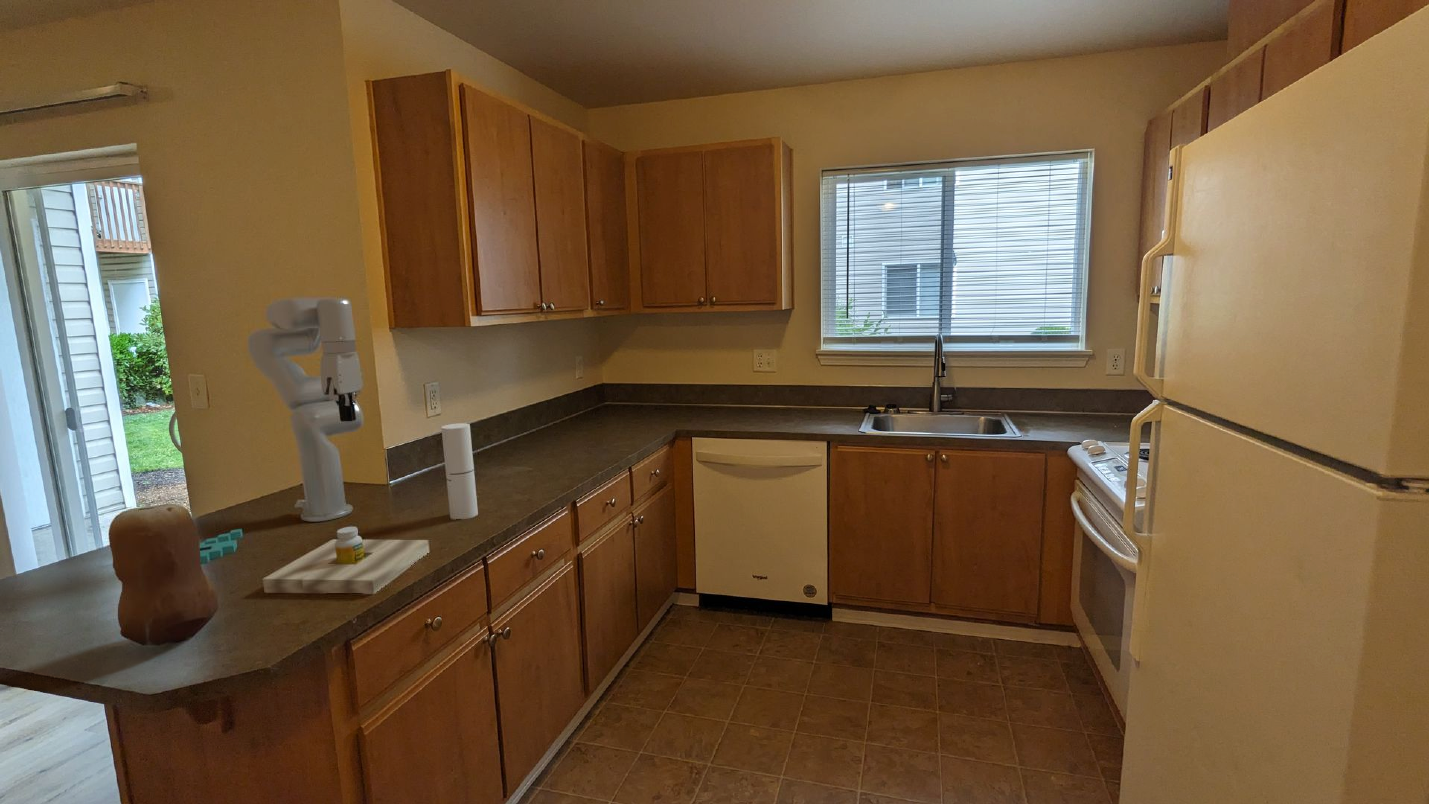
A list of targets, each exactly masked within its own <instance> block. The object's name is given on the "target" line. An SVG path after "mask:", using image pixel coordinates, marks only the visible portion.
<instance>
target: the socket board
mask: <svg viewBox="0 0 1429 804" xmlns="http://www.w3.org/2000/svg"><path fill="white" fill-rule="evenodd" d="M338 539H339V538H337V539H335V538H334V539H330V540H329V541H327V542H325V543H323V544H322V545H320V546H318V547H316V548H314V549H313V550H311V551H309V552H308V553H306V554H304V555H302V556H300V557H299V558H297V559H295V560H293V561H292V562H290V563H288V564H286V565H285V566H283V567H280V568H279V569H277V570H276V571H273V572H272V573H271V574H269V575H267V576H265V577H264V578H262V584H263V590H264V593H267V594H269V593H270V594H273V593H275V594H283V593H284V594H326V593H363V594H362V595H375V594H377V593H378V592H380V590H382V589H383V588H384V587H386V586H387V585H388V584H390V583H391V582H392V581H393V580H395V579H396V578H398V577H399V576H400V575H402V574H403V573H404V572H406V570H408V569H409V568H410V567H412V566H413V565H415V564H416V563H418V562H419V561H420V560H421V559H422V558H424V557H425V556H427V555H428V554H429V553H430V543H429V540H428V539H362V541H363V549H364V557H365V559H363V560H362V561H360V562H359V563H357V564H338V563H337V556H336V549H335V542H336V541H337V540H338ZM427 553H428V554H427ZM423 556H424V557H423ZM419 559H420V560H419ZM418 560H419V561H418ZM415 562H416V563H415ZM414 563H415V564H414ZM411 565H412V566H411ZM385 585H386V586H385ZM381 588H382V589H381ZM377 591H378V592H377Z"/></svg>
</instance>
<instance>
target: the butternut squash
mask: <svg viewBox="0 0 1429 804" xmlns="http://www.w3.org/2000/svg"><path fill="white" fill-rule="evenodd" d="M195 525H196V524H195V522H194V519H193V517H192V514H191V512H190V511H189V510H188V509H187V508H186V507H185V506H182V505H180V504H177V503H164V504H158V505H154V506H153V505H151V506H147V507H146V506H145V507H134V508H130V509H127V510H123V511H121V512H120V513H119V514H117V515H115V517H114V518H113V519H112V521H111V523H110V525H109V528H108V541H109V547H110V550H111V556H112V568H113V570H114V572H115V576H116V578H117V579H118V581H120V582H121V593H120V596H119V601H118V604H117V620H118V621H117V622H118V625H119V626H118V627H119V628H120V630H119V633H120V636H122V637H123V638H125V639H127V640H129V641H132V642H135V644H138V645H140V646H162V645H163V646H164V645H165V644H166V645H167V644H176V643H178V642H179V643H183V642H184V641H186V640H188V639H190V638H193V637H194V636H196V634H198V633H199V632H200V631H201V630H202V629H203V628H205V626H206V625H207V624H208V623H209V622H210V621H211V619H213V618H214V616H215V615H216V613H217V611H218V609H219V602H218V593H217V590H216V589H215V586H214V584H212V582H211V581H210V579H209V578H208V576H207V575H206V574H205V573H204V570H203V567H202V564H201V562H200V557H201V555H200V543H201V542H200V538H199V534H198V531H197V529H196V526H195ZM182 641H183V642H182Z"/></svg>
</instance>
